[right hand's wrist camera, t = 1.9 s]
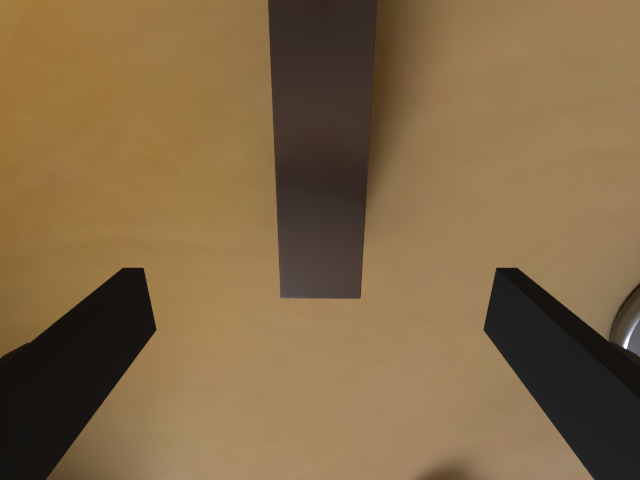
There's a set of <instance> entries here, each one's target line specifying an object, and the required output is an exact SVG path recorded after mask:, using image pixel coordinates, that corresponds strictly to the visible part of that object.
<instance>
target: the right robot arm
mask: <svg viewBox="0 0 640 480" xmlns="http://www.w3.org/2000/svg"><path fill="white" fill-rule="evenodd" d="M155 331H156V325H155V320H154V316H153V311H152V306H151V301H150V297H149V292H148V287H147V282H146V277H145V273H144V268H122V269H121V270H120V271H118V272H117V273H116V274H115V275H113V276H112V277H111V278H110V279H108V280H107V281H106V282H105V283H104V284H102V285H101V286H100V287H99V288H97V289H96V290H95V291H94V292H92V293H91V294H90V295H89V296H87V297H86V298H85V299H84V300H82V301H81V302H80V303H79V304H77V305H76V306H75V307H74V308H73V309H71V310H70V311H69V312H68V313H66V314H65V315H64V316H63V317H61V318H60V319H59V320H58V321H56V322H55V323H54V324H53V325H51V326H50V327H49V328H48V329H47V330H45V331H44V332H43V333H42V334H40V335H39V336H38V337H37V338H35V339H34V340H33V341H32V342H30V343H26V344H25V345H23V346H21V347H19V348H17V349H15V350H13V351H11V352H10V353H8V354H6V355H4V356H3V357H2V358H0V480H46V479H47V477H48V476H49V475H50V473H51V472H52V470H53V469H54V468H55V466H56V465H57V464H58V462H59V461H60V460H61V458H62V457H63V456H64V454H65V453H66V452H67V450H68V449H69V447H70V446H71V445H72V443H73V442H74V441H75V439H76V438H77V437H78V435H79V434H80V433H81V431H82V430H83V429H84V427H85V426H86V424H87V423H88V422H89V420H90V419H91V418H92V416H93V415H94V414H95V412H96V411H97V410H98V408H99V407H100V406H101V404H102V403H103V401H104V400H105V399H106V397H107V396H108V395H109V393H110V392H111V391H112V389H113V388H114V387H115V385H116V384H117V383H118V381H119V380H120V378H121V377H122V376H123V374H124V373H125V372H126V370H127V369H128V368H129V366H130V365H131V364H132V362H133V361H134V360H135V358H136V357H137V356H138V354H139V353H140V351H141V350H142V349H143V347H144V346H145V345H146V343H147V342H148V341H149V339H150V338H151V337H152V335H153V334H154V333H155ZM484 331H485V333H486V334H487V335H488V337H489V338H490V339H491V341H492V342H493V343H494V345H495V346H496V347H497V349H498V350H499V351H500V353H501V354H502V356H503V357H504V358H505V360H506V361H507V362H508V364H509V365H510V366H511V368H512V369H513V370H514V372H515V373H516V374H517V376H518V377H519V378H520V380H521V381H522V383H523V384H524V385H525V387H526V388H527V389H528V391H529V392H530V393H531V395H532V396H533V397H534V399H535V400H536V401H537V403H538V404H539V406H540V407H541V408H542V410H543V411H544V412H545V414H546V415H547V416H548V418H549V419H550V420H551V422H552V423H553V424H554V426H555V427H556V429H557V430H558V431H559V433H560V434H561V435H562V437H563V438H564V439H565V441H566V442H567V443H568V445H569V446H570V447H571V449H572V450H573V452H574V453H575V454H576V456H577V457H578V458H579V460H580V461H581V462H582V464H583V465H584V466H585V468H586V469H587V470H588V472H589V473H590V475H591V476H592V477H593V479H594V480H640V287H639V288H638V289H637V290H636V291H635V292H634V293H633V294H632V296H631V297H630V298H629V299H628V300H627V301H626V303H625V304H624V305H623V307H622V308H621V310H620V311H619V313H618V315H617V317H616V319H615V321H614V323H613V325H612V329H611V332H610V336H609V342H608V341H607V340H606V339H605V338H603V337H602V336H601V335H600V334H598V333H597V332H596V331H595V330H593V329H592V328H591V327H590V326H589V325H587V324H586V323H585V322H584V321H582V320H581V319H580V318H579V317H577V316H576V315H575V314H574V313H572V312H571V311H570V310H569V309H567V308H566V307H565V306H564V305H563V304H561V303H560V302H559V301H558V300H556V299H555V298H554V297H553V296H551V295H550V294H549V293H548V292H546V291H545V290H544V289H543V288H541V287H540V286H539V285H538V284H536V283H535V282H534V281H533V280H532V279H530V278H529V277H528V276H527V275H525V274H524V273H523V272H522V271H520V270H519V269H518V268H496V273H495V277H494V282H493V287H492V292H491V297H490V301H489V306H488V311H487V316H486V320H485V325H484Z"/></svg>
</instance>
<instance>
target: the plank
mask: <svg viewBox="0 0 640 480" xmlns="http://www.w3.org/2000/svg"><path fill="white" fill-rule="evenodd" d="M268 9H269V33H270V57H271V80H272V104H273V127H274V151H275V174H276V198H277V221H278V245H279V269H280V292H281V298H337V299H360V297H361V280H362V262H363V245H364V227H365V209H366V191H367V173H368V155H369V137H370V120H371V102H372V84H373V66H374V48H375V30H376V12H377V0H268Z"/></svg>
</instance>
